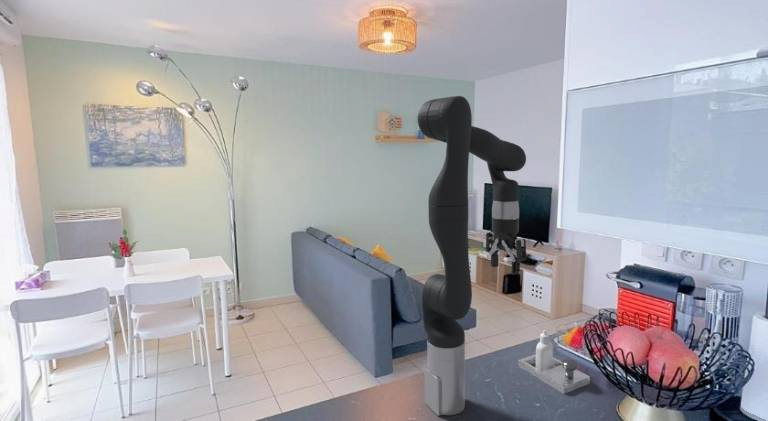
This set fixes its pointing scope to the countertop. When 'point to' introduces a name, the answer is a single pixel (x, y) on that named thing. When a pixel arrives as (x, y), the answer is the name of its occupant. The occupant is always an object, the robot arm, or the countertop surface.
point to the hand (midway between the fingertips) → (504, 270)
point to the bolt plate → (557, 374)
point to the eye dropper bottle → (544, 353)
